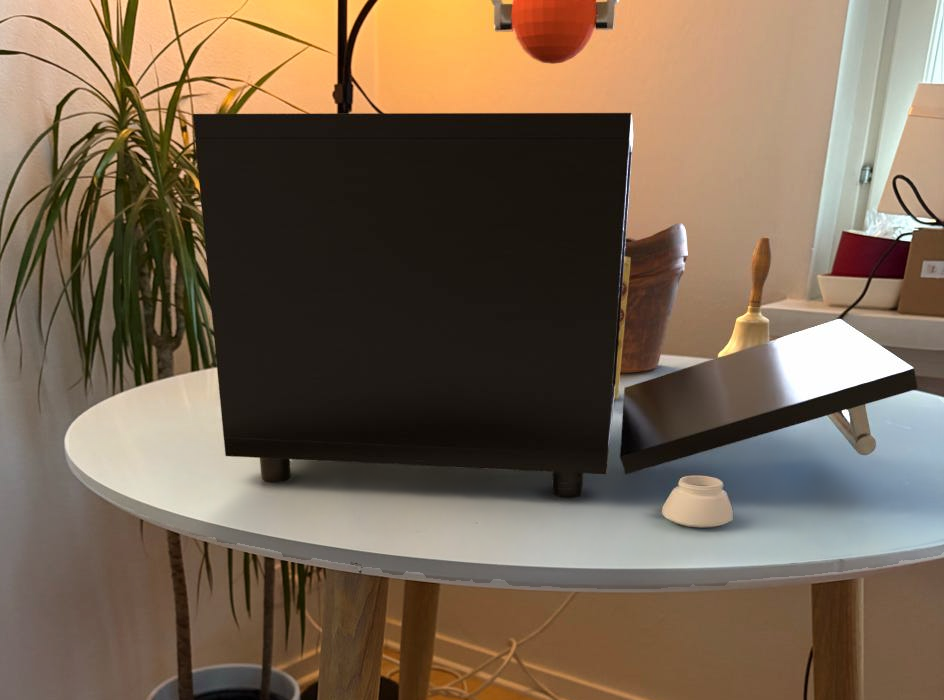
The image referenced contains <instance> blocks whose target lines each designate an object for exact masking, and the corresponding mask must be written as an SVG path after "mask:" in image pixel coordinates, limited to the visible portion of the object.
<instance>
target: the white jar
mask: <svg viewBox="0 0 944 700" xmlns="http://www.w3.org/2000/svg"><path fill="white" fill-rule="evenodd" d="M677 485H678V486H676V487H674V488H673V489H672V490H671V492H670V494H669V496H668V497H667V499H666V501H664V504H663V506H662V509H661V515H663V516H664V517H665V518H666V519H667V520H669V521H671V522H672V523H675V524H678V525H681V526H685V527H690V528H700V529H701V528H714V527H720V526H722V525H726V524H728V523H729V522H731V521H733V517H734V510H733V508H732V505H731V501H730V498H729V496H728V493H727V491H725V490H724V489H723V487H724V483H723V481H722V480H721V479H719V478H717V477H713V476H708V475H686V476H682V477H681V478H679V481H678V483H677Z"/></svg>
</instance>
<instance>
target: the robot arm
mask: <svg viewBox="0 0 944 700" xmlns="http://www.w3.org/2000/svg"><path fill="white" fill-rule="evenodd" d="M490 1H491V3H492V5H493V10H494V11H493V28H494V32H495V33H509V32H513V33H514V31H513V28H512V18H511V13H512V5H513V3H504V2H503V0H490ZM619 2H620V0H606V1H596V3H597V4H596V12H597V17H596V24H595V28H594V29H595V30H596V31H614V29H615V18H616V17H615V15H616V6H617V5H618V4H619Z"/></svg>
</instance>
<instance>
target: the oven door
mask: <svg viewBox="0 0 944 700" xmlns="http://www.w3.org/2000/svg"><path fill="white" fill-rule="evenodd" d="M916 390H918V382H917V376H916V371H915V368H914V367H913V366H911V365H910V364H909V363H907V362H906V361H904V360H902V359H901V358H899V356H896V355H895V354H893V353H892V352H890V351H889V350H887V349H886V348H884V347H883V346H881V345H880V344H878V343H877V342H875V341H874V340H872V339H871V338H869V337H867V336H866V335H864V334H863V333H862V332H860V331H858V330H857V329H855V328H854V327H852V326H851V325H849V324H848V323H846V322H845V321H844V320H842V319H841V318H838V319H835V320H831V321H829V322H826V323H822V324H819V325H816V326H814V327H810V328H807V329H804V330H801V331H798V332H795V333H794V332H793V333H792V334H788V335H785V336H782V337H779V338H775V339H772V340H770V341H769V342H766V343H763V344H760V345H757V346H754V347H750V348H747V349H744V350H741V351H738V352H735V353H732V354H728V355H725V356H722V357H717V358H712V359H710V360H707V361H704V362H700V363H697V364H694V365H692V366H688V367H685V368H682V369H678V370H675V371H673V372H669V373H666V374H663V375H660V376H657V377H653V378H649V379H647V380H644V381H641V382H638V383H635V384H631V385H629V386H625V387H624V388H623V404H622V415H621V416H622V417H621V435H620V449H619V458H620V462H621V466H622V469H623V472H624V475H626V476H627V475H630V474H633V473H637V472H640V471H643V470H646V469H650V468H654V467H657V466H661V465H663V464H667V463H671V462H674V461H678V460H680V459H681V460H682V459H684V458H689V457H691V456H694V455H698V454H701V453H705V452H708V451H711V450H714V449H718V448H721V447H725V446H728V445H732V444H735V443H739V442H742V441H746V440H749V439H751V438H752V439H753V438H756V437H759V436H762V435H766V434H769V433H773V432H776V431H779V430H782V429H786V428H790V427H794V426H796V425H800V424H803V423H808V422H810V421H813V420H817V419H820V418H824V417H828V419H829V420H830V421H831V423H832V424H833V425H834V426H835V428H836V429H837V430H838V431H839V433H841V435H842V436H843V437H844V438H845V440H846V441H847V442H848V443H849V445H850V446H851V447H852V448H853V449H854V451H855V452H856V453H857V454H859V455H861V456H868V455H871V454H872V453H873V452H875V450H876V448H877V441H876V438H875V437H874V436H873V435H872V432H871V427H870V426H871V425H870V422H869V416H868V412H867V407H866V405H867V404H868V405H869V404H871V403H872V404H873V403H875V402H879V401H882V400H885V399H889V398H891V397H895V396H899V395H901V394H905V393H909V392H913V391H916Z"/></svg>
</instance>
